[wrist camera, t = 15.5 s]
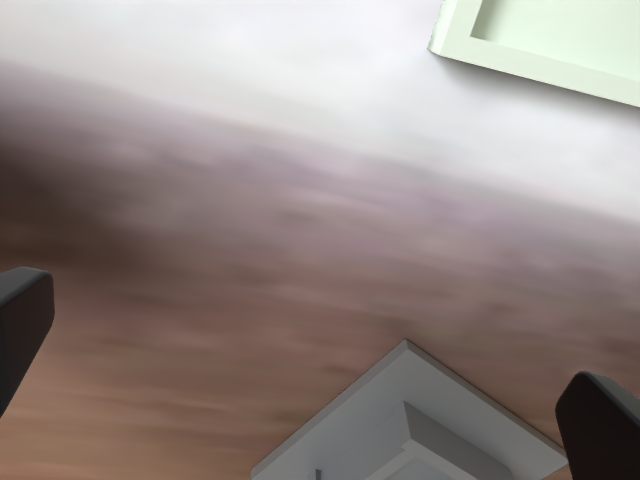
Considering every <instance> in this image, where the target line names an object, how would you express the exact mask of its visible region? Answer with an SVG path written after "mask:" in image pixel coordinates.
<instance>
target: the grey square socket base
mask: <svg viewBox="0 0 640 480" xmlns="http://www.w3.org/2000/svg"><path fill="white" fill-rule="evenodd" d="M566 464H568V459H567V456H566V452H565V450H564V449H562V448H561V447H560V446H558V445H557V444H555V443H554V442H552V441H551V440H550V439H548V438H547V437H545V436H544V435H542V434H541V433H540V432H538V431H537V430H535V429H534V428H532V427H531V426H530V425H528V424H527V423H525V422H524V421H522V420H521V419H520V418H518V417H517V416H515V415H514V414H512V413H511V412H510V411H508V410H507V409H505V408H504V407H502V406H501V405H500V404H498V403H497V402H495V401H494V400H492V399H491V398H490V397H488V396H487V395H485V394H484V393H482V392H481V391H480V390H478V389H477V388H475V387H474V386H472V385H471V384H470V383H468V382H467V381H465V380H464V379H462V378H461V377H460V376H458V375H457V374H455V373H454V372H452V371H451V370H450V369H448V368H447V367H445V366H444V365H442V364H441V363H440V362H438V361H437V360H435V359H434V358H432V357H431V356H430V355H428V354H427V353H425V352H424V351H422V350H421V349H420V348H418V347H417V346H415V345H414V344H412V343H411V342H409V341H408V340H407V339H405V340H403V341H402V342H401V343H400V344H399V345H397V346H396V347H395V348H394V349H393V350H392V351H390V352H389V353H388V354H387V355H386V356H384V357H383V358H382V359H381V360H380V361H379V362H377V363H376V364H375V365H374V366H373V367H372V368H370V369H369V370H368V371H367V372H366V373H364V374H363V375H362V376H361V377H360V378H359V379H357V380H356V381H355V382H354V383H353V384H351V385H350V386H349V387H348V388H347V389H346V390H344V391H343V392H342V393H341V394H340V395H339V396H337V397H336V398H335V399H334V400H333V401H331V402H330V403H329V404H328V405H327V406H326V407H324V408H323V409H322V410H321V411H320V412H318V413H317V414H316V415H315V416H314V417H313V418H311V419H310V420H309V421H308V422H307V423H306V424H304V425H303V426H302V427H301V428H300V429H298V430H297V431H296V432H295V433H294V434H293V435H291V436H290V437H289V438H288V439H287V440H285V441H284V442H283V443H282V444H281V445H280V446H278V447H277V448H276V449H275V450H274V451H273V452H271V453H270V454H269V455H268V456H267V457H265V458H264V459H263V460H262V461H261V462H260V463H258V464H257V465H256V466H255V467H254V468H252V469H251V475H250V480H541V479H543V478H545V477H546V476H548V475H550V474H551V473H553V472H555V471H556V470H558V469H560V468H561V467H563V466H565V465H566Z"/></svg>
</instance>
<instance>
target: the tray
mask: <svg viewBox="0 0 640 480" xmlns="http://www.w3.org/2000/svg"><path fill="white" fill-rule="evenodd" d="M427 49H428V50H430V51H432V52H434V53H436V54H438V55H440V56H444V57H448V58H452V59H455V60H459V61H463V62H467V63H471V64H475V65H479V66H483V67H486V68H490V69H494V70H498V71H502V72H506V73H510V74H513V75H517V76H521V77H525V78H529V79H533V80H537V81H540V82H544V83H548V84H552V85H556V86H560V87H564V88H568V89H571V90H575V91H579V92H583V93H587V94H591V95H595V96H598V97H602V98H606V99H610V100H614V101H618V102H622V103H625V104H629V105H633V106H637V107H640V0H443V1H442V4H441V8H440V11H439V14H438V17H437V20H436V23H435V26H434V29H433V33H432V36H431V39H430V42H429V45H428V48H427Z"/></svg>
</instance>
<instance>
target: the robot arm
mask: <svg viewBox="0 0 640 480" xmlns="http://www.w3.org/2000/svg"><path fill="white" fill-rule="evenodd" d="M54 314H55V309H54V288H53V277H52V275H51V273H50V272H48V271H47V270H42V269H37V268H31V267H25V266H22V267H17V268H14V269H12V270H9V271H6V272H3V273H0V418H1V416H2V415H3V413H4V412H5V410H6V408H7V407H8V405H9V403H10V401H11V400H12V398H13V396H14V394H15V392H16V391H17V389H18V387H19V385H20V383H21V381H22V380H23V378H24V376H25V374H26V372H27V370H28V369H29V367H30V365H31V363H32V361H33V359H34V358H35V356H36V354H37V352H38V350H39V348H40V347H41V345H42V343H43V341H44V339H45V337H46V336H47V334H48V332H49V330H50V328H51V326H52V323H53V320H54ZM555 414H556V419H557V422H558V426H559V430H560V434H561V437H562V441H563V445H564V448H565V452H566V456H567V459H568V463H569V467H570V470H571V474H572V478H573V480H640V399H639V398H637V397H636V396H635V395H633V394H632V393H630V392H629V391H627V390H626V389H625V388H623V387H622V386H620V385H619V384H618V383H616V382H615V381H613V380H612V379H611V378H609V377H608V376H606V375H603V374H600V373H594V372H589V371H580V372H578V373H577V374H576V375H575V376H574V377H573V379H572V380H571V382H570V383H569V385H568V386H567V387H566V389H565V390H564V392H563V393H562V395H561V396H560V398H559V399H558V401H557V404H556V409H555Z"/></svg>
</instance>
